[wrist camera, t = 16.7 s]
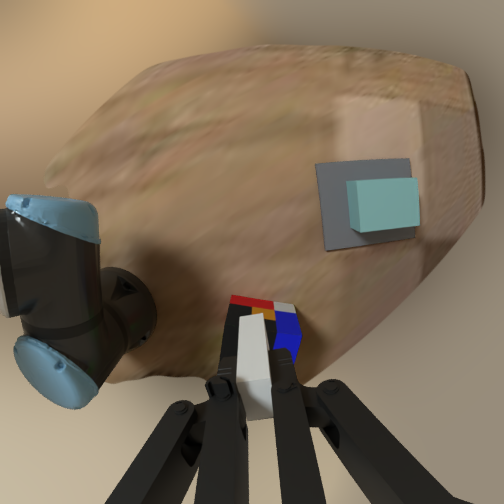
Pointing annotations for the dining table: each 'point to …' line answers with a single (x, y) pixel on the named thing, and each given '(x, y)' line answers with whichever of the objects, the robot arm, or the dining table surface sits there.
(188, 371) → the dining table surface
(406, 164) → the rubber mat
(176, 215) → the dining table surface
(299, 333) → the puzzle toy
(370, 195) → the teal block
